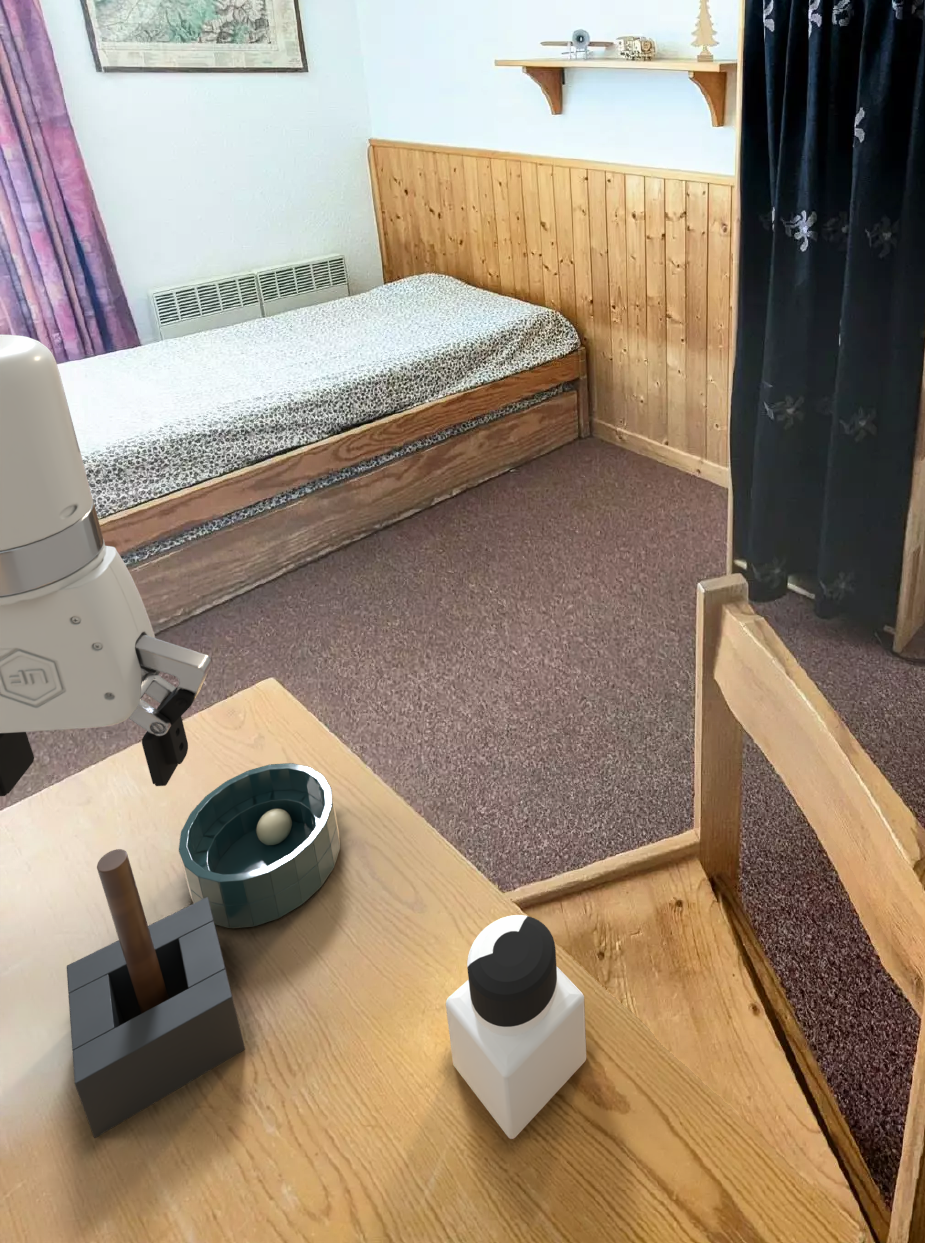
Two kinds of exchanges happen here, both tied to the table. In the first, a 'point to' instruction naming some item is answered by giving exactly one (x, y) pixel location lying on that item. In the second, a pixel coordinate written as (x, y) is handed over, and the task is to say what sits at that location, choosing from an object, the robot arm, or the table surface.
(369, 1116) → the table surface
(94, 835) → the table surface
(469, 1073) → the medicine bottle
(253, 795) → the bowl
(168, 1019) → the holder
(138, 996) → the spurtle
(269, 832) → the beige egg
